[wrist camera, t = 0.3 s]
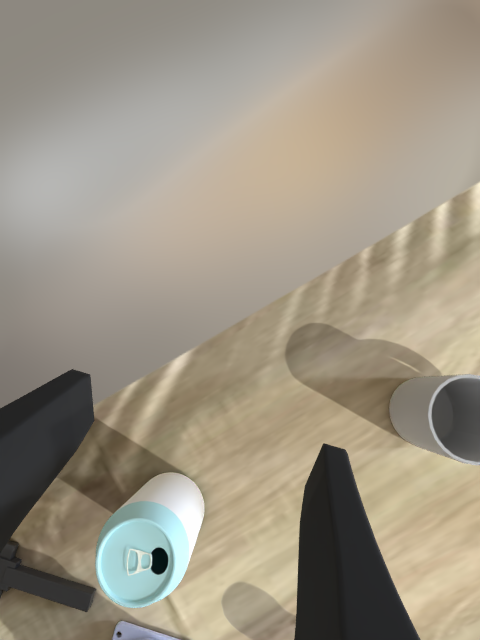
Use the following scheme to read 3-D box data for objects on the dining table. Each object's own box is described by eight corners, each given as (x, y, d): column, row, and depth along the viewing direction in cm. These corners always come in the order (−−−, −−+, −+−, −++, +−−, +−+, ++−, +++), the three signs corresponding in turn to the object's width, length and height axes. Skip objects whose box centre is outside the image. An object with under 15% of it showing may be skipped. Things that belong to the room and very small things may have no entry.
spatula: (102, 569, 36) (98, 574, 35) (85, 626, 35) (80, 633, 34) (-52, 520, 38) (-60, 524, 37) (-73, 574, 37) (-81, 579, 36)
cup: (374, 396, 39) (411, 399, 30) (453, 353, 39) (512, 343, 31) (410, 459, 38) (460, 481, 29) (492, 414, 38) (564, 422, 29)
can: (179, 456, 38) (148, 488, 26) (218, 515, 37) (205, 575, 25) (123, 499, 38) (66, 550, 26) (162, 559, 36) (121, 642, 25)
